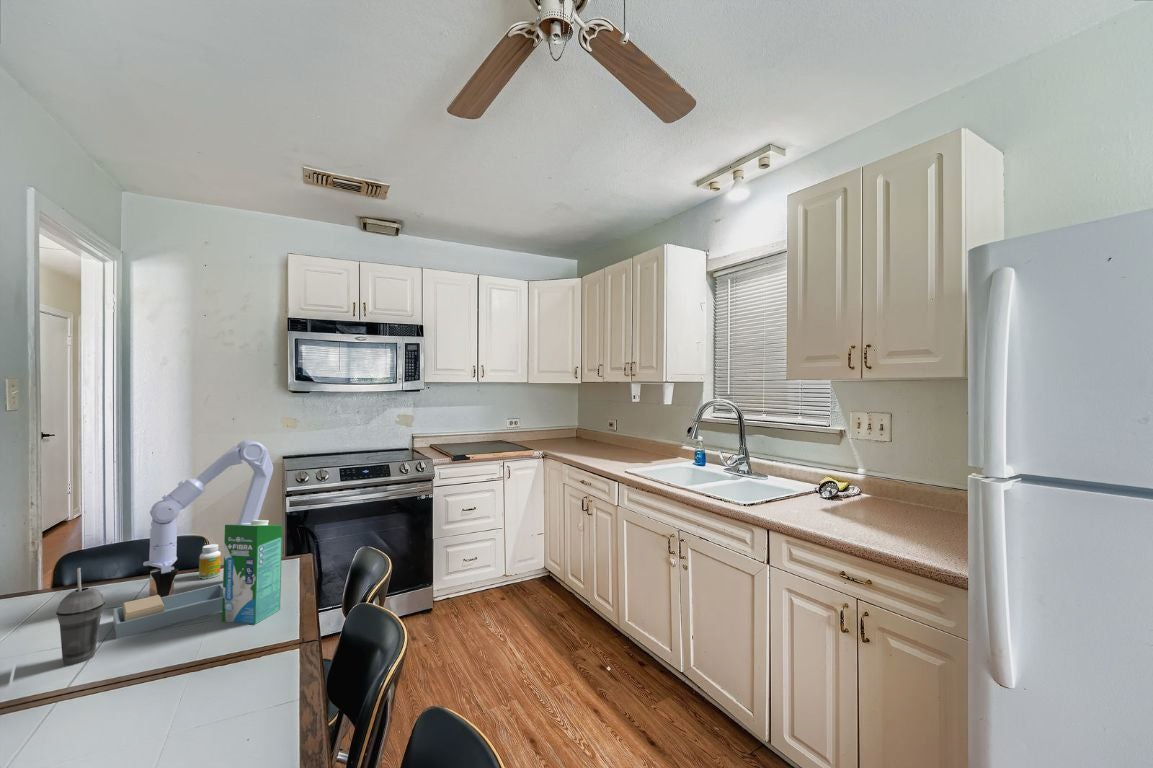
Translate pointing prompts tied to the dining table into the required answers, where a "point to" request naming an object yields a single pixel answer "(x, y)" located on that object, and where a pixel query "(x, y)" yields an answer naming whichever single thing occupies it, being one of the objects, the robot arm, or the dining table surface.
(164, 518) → the robot arm
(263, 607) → the milk carton
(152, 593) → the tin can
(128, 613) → the plain tan box
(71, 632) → the beverage cup
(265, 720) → the dining table surface
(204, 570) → the supplement bottle
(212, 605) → the tote
